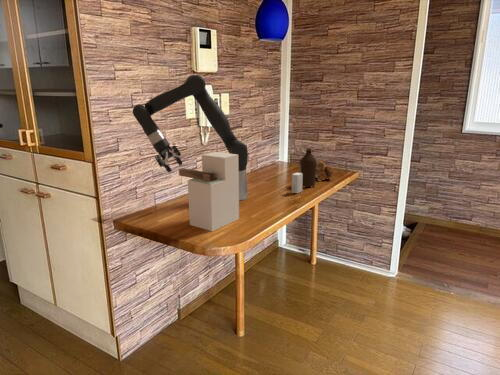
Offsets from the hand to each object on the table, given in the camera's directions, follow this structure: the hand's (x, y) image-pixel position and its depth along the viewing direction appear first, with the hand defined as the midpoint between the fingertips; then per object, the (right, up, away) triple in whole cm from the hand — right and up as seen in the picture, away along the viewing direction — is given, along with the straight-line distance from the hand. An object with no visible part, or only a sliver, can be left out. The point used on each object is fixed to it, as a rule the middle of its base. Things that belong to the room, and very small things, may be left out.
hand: (175, 168), depth 191 cm
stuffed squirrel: (+89, -5, +67) cm, 112 cm away
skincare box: (+67, -13, +36) cm, 77 cm away
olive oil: (+76, -9, +51) cm, 92 cm away
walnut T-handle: (+13, -5, -19) cm, 24 cm away
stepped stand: (+21, -26, -12) cm, 36 cm away
